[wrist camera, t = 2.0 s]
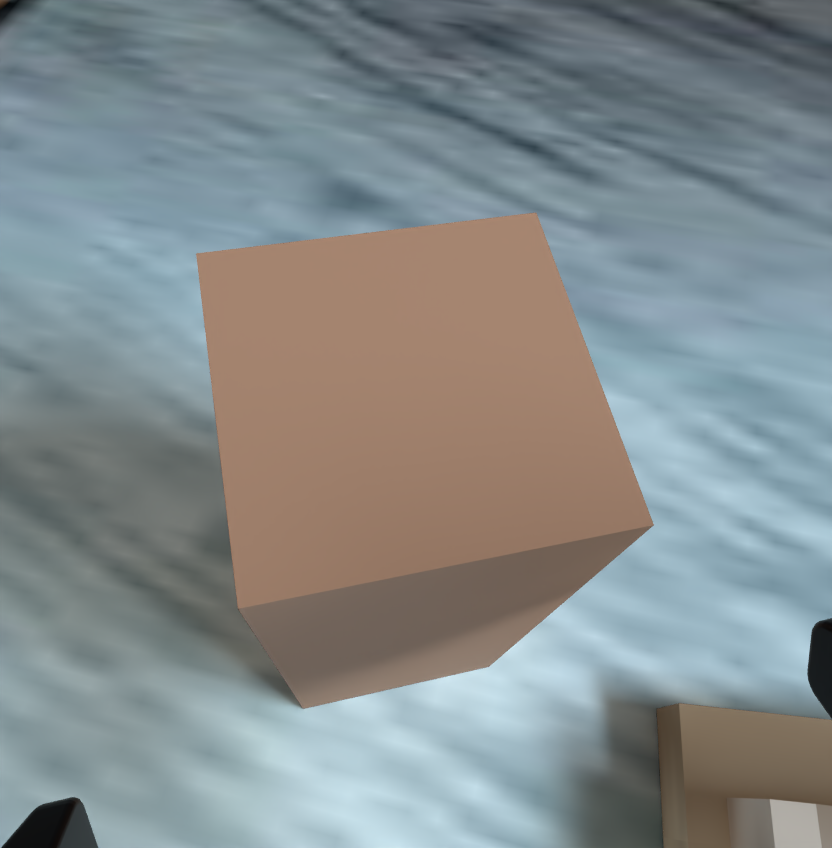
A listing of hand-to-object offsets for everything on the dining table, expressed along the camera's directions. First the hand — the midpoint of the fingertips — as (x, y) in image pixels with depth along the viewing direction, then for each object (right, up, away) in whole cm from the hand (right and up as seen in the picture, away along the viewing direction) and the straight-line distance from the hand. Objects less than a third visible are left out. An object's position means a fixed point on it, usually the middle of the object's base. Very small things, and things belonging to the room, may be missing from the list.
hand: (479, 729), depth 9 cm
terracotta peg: (-2, -1, +12) cm, 12 cm away
